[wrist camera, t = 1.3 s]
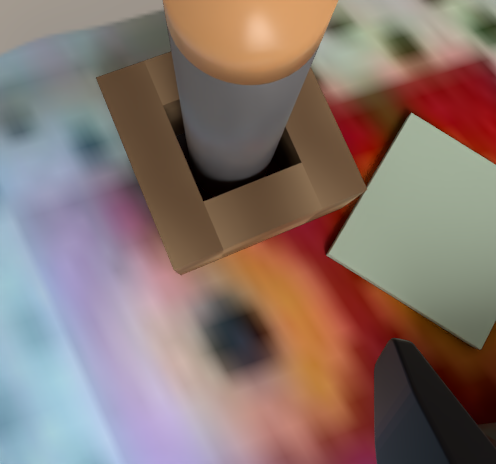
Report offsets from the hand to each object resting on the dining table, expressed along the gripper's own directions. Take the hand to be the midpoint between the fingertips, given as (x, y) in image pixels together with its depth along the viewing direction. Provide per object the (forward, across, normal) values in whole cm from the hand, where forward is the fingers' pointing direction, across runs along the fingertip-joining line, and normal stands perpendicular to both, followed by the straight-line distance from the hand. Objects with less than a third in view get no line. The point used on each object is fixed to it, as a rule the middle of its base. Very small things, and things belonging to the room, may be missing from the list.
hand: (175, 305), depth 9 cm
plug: (+14, 0, +4) cm, 15 cm away
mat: (+14, -12, +5) cm, 19 cm away
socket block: (+14, 0, +4) cm, 15 cm away
